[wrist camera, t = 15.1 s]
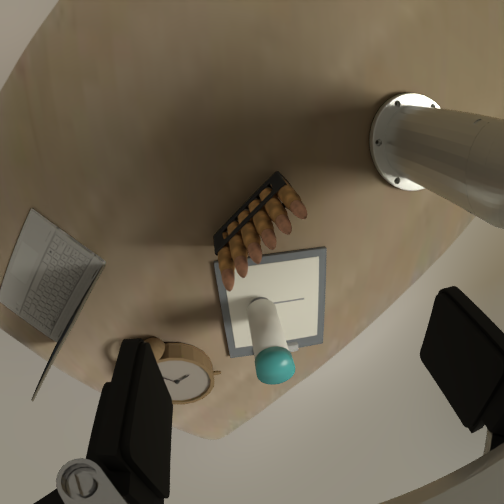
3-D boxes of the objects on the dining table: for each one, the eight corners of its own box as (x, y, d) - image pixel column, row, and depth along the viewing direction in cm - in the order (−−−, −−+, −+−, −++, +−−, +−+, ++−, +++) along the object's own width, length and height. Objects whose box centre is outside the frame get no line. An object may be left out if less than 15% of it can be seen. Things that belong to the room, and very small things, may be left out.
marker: (274, 291, 42) (295, 355, 31) (275, 315, 43) (295, 380, 33) (243, 295, 41) (255, 361, 31) (246, 319, 43) (258, 386, 32)
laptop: (33, 205, 33) (-24, 250, 22) (108, 261, 38) (75, 325, 26) (-1, 296, 38) (-41, 350, 26) (60, 341, 43) (33, 403, 31)
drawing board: (325, 246, 40) (328, 250, 39) (321, 341, 47) (324, 346, 46) (213, 261, 39) (213, 266, 38) (230, 355, 47) (230, 361, 45)
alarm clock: (195, 411, 48) (107, 391, 41) (190, 388, 52) (107, 366, 45) (230, 372, 45) (131, 346, 37) (223, 348, 49) (132, 319, 41)
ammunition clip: (224, 246, 39) (230, 303, 28) (212, 236, 38) (214, 291, 27) (288, 181, 36) (321, 216, 25) (277, 170, 36) (306, 201, 25)
